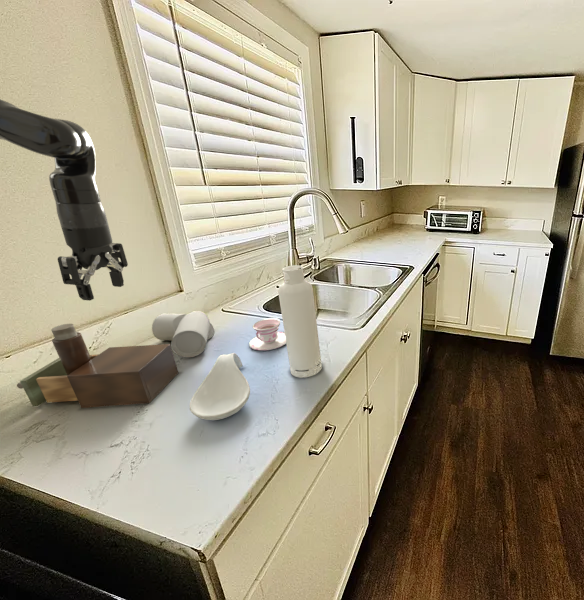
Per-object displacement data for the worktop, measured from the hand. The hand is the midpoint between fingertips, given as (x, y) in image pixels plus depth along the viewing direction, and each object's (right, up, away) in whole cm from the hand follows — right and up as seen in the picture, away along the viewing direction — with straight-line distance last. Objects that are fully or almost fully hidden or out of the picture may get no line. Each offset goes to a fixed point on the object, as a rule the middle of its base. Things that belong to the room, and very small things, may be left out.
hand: (103, 292), depth 76 cm
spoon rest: (+29, -24, +1) cm, 38 cm away
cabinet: (+4, -24, +4) cm, 24 cm away
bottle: (+45, -20, +11) cm, 50 cm away
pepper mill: (-6, -22, +2) cm, 23 cm away
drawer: (-9, -23, +2) cm, 25 cm away
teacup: (+29, -15, +25) cm, 41 cm away
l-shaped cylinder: (+4, -16, +24) cm, 29 cm away
